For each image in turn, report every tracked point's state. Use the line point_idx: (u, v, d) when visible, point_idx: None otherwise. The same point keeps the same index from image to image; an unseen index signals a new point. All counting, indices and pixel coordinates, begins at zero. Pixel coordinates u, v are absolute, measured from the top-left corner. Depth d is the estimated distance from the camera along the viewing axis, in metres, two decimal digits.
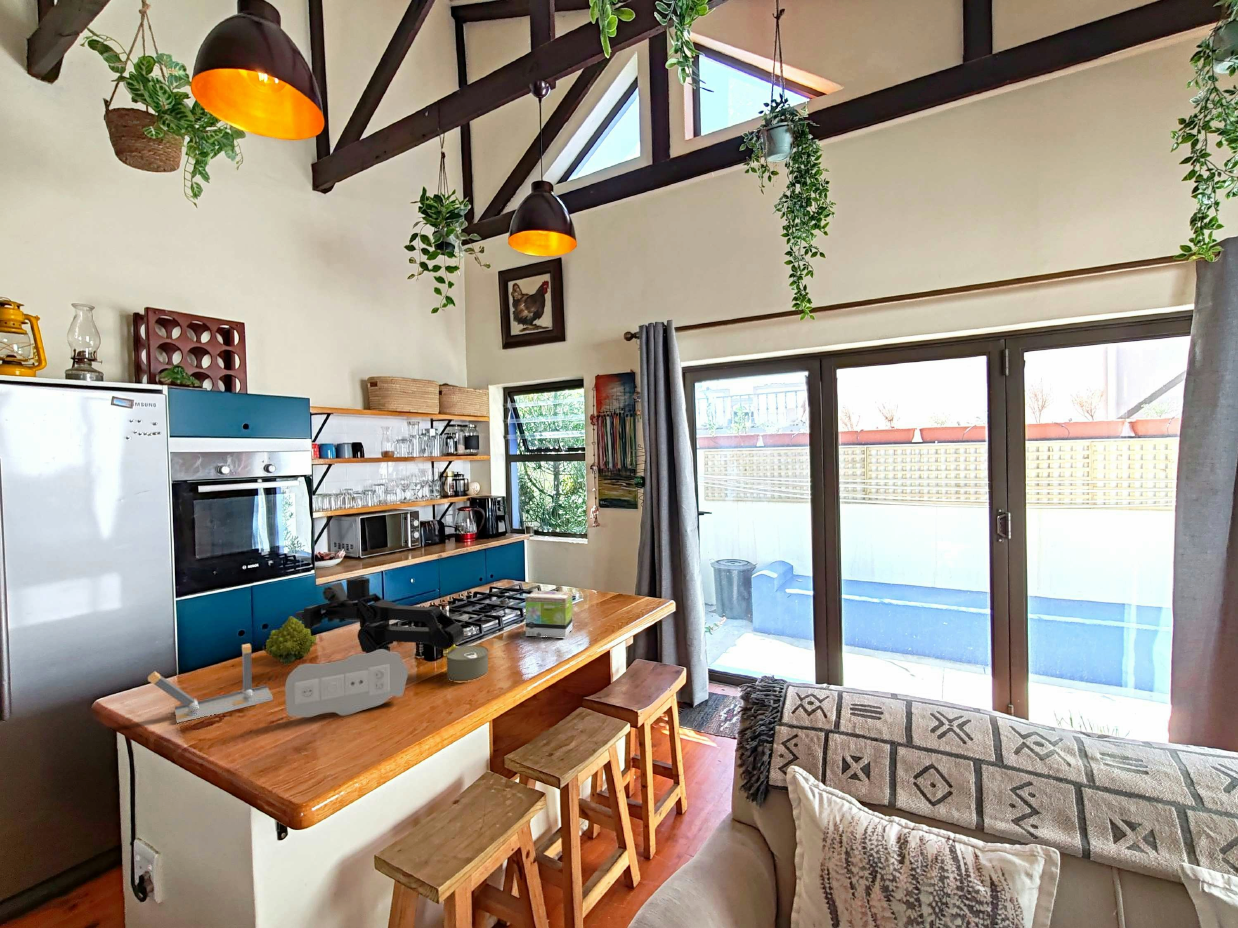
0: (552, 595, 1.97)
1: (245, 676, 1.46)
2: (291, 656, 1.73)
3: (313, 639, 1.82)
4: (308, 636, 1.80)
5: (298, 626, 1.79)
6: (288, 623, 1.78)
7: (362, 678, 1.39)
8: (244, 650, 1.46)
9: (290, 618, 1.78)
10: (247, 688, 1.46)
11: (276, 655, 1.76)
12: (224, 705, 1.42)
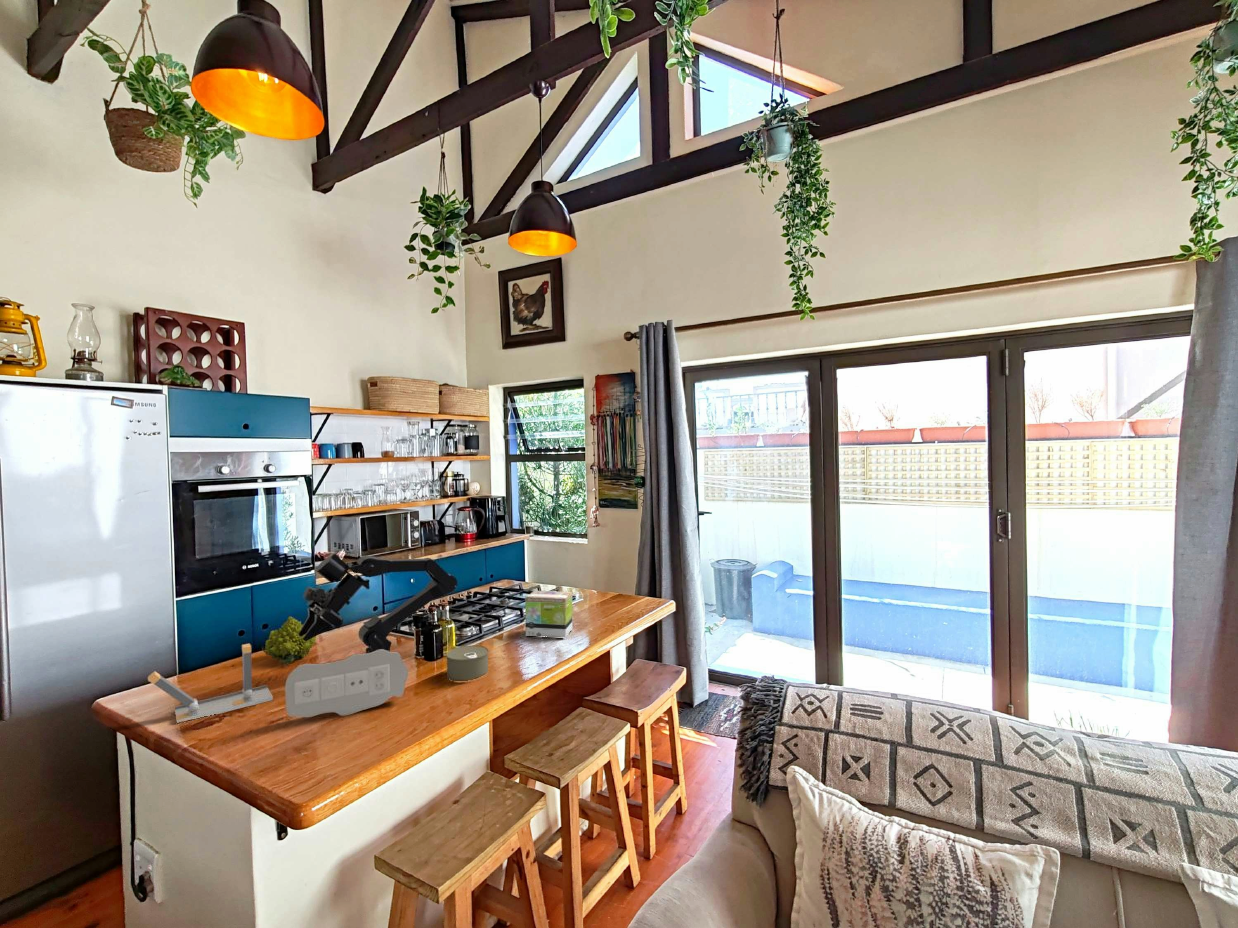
0: (552, 595, 1.97)
1: (245, 676, 1.46)
2: (291, 656, 1.73)
3: (312, 639, 1.82)
4: None
5: (297, 626, 1.78)
6: (287, 623, 1.78)
7: (362, 678, 1.39)
8: (244, 650, 1.46)
9: (289, 618, 1.78)
10: (247, 688, 1.46)
11: (275, 656, 1.76)
12: (224, 705, 1.42)
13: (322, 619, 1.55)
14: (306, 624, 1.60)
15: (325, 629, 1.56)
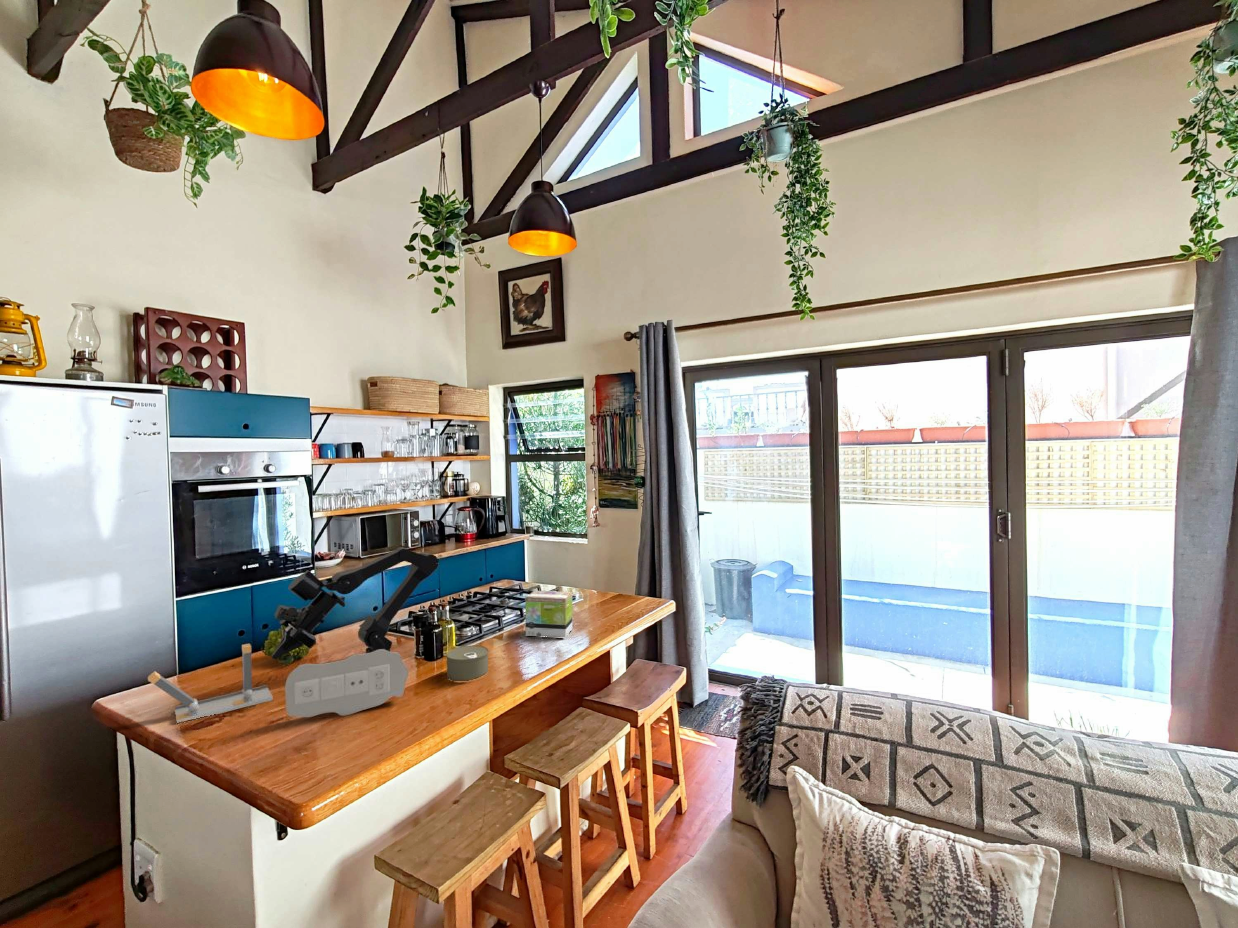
0: (552, 595, 1.97)
1: (245, 676, 1.46)
2: (290, 657, 1.72)
3: None
4: None
5: None
6: None
7: (362, 678, 1.39)
8: (244, 650, 1.46)
9: None
10: (247, 688, 1.46)
11: None
12: (224, 705, 1.42)
13: (292, 637, 1.52)
14: None
15: (295, 647, 1.53)
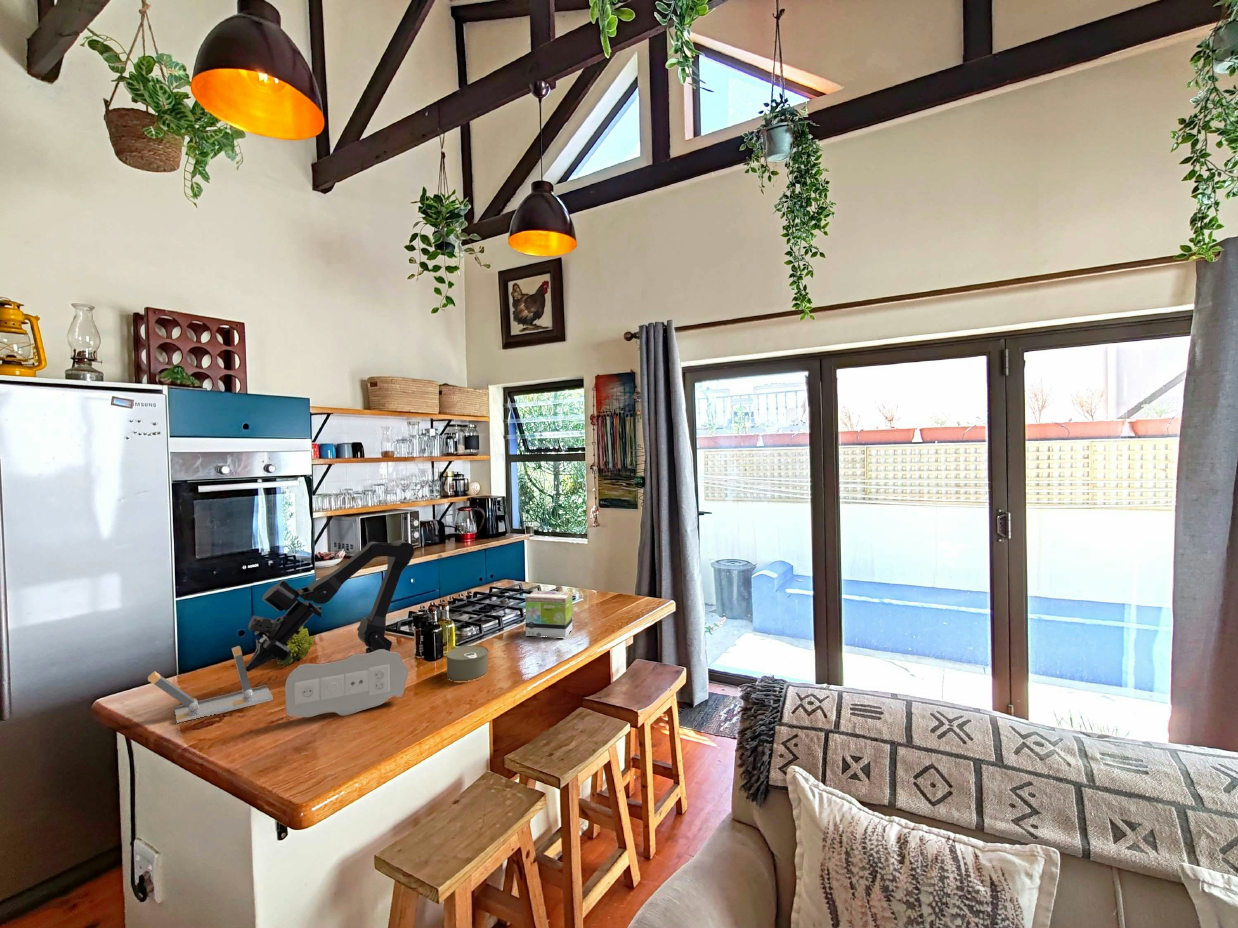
0: (552, 595, 1.97)
1: (241, 678, 1.46)
2: (289, 658, 1.72)
3: (311, 641, 1.80)
4: (306, 638, 1.78)
5: None
6: None
7: (362, 678, 1.39)
8: (234, 653, 1.45)
9: None
10: (246, 688, 1.46)
11: None
12: (224, 705, 1.42)
13: (265, 649, 1.48)
14: None
15: (269, 659, 1.49)
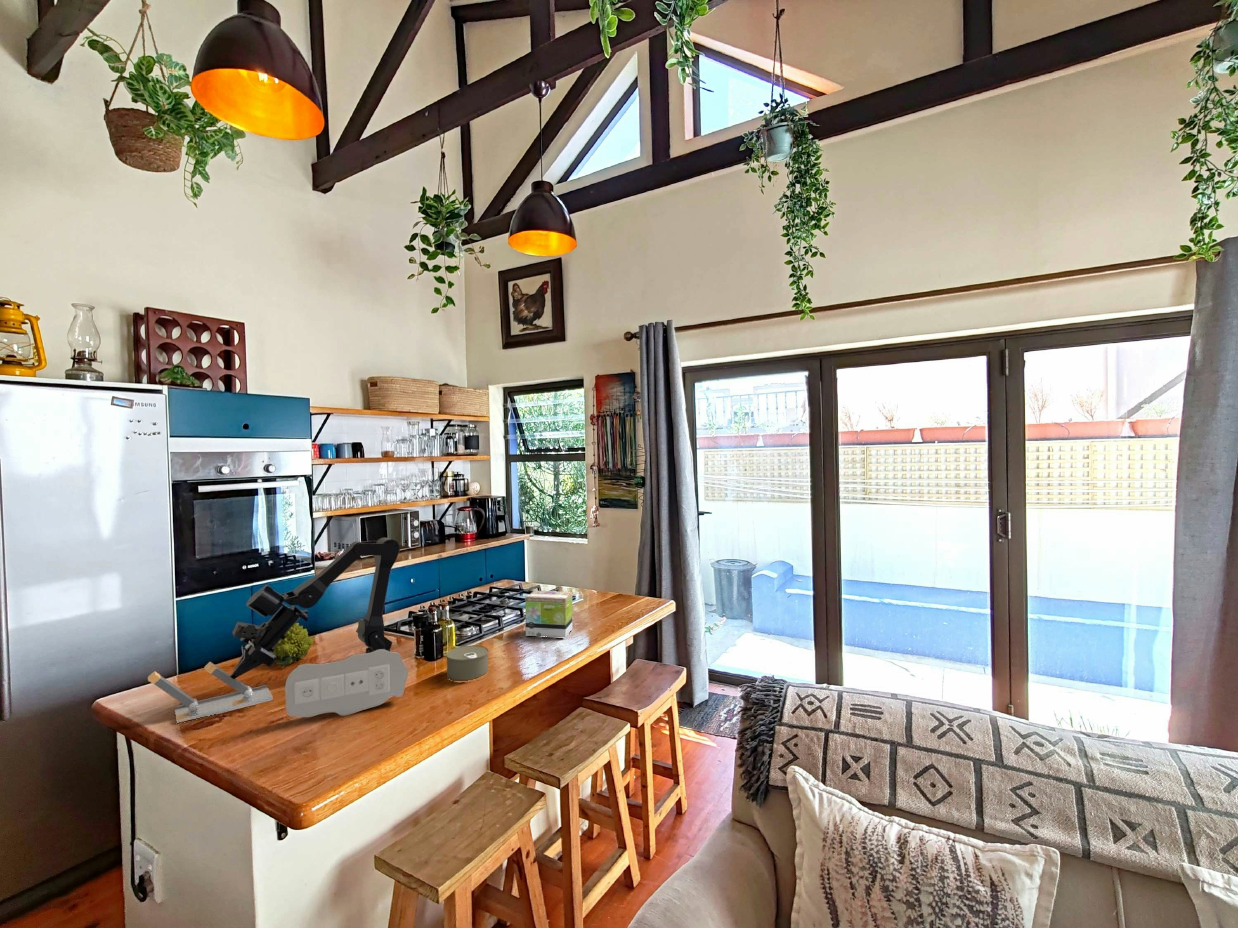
0: (552, 595, 1.97)
1: (231, 685, 1.44)
2: (289, 658, 1.71)
3: (311, 641, 1.80)
4: (306, 638, 1.78)
5: (295, 628, 1.76)
6: None
7: (362, 678, 1.39)
8: (208, 671, 1.41)
9: None
10: (243, 691, 1.46)
11: None
12: (224, 705, 1.42)
13: (251, 655, 1.45)
14: None
15: (255, 665, 1.47)
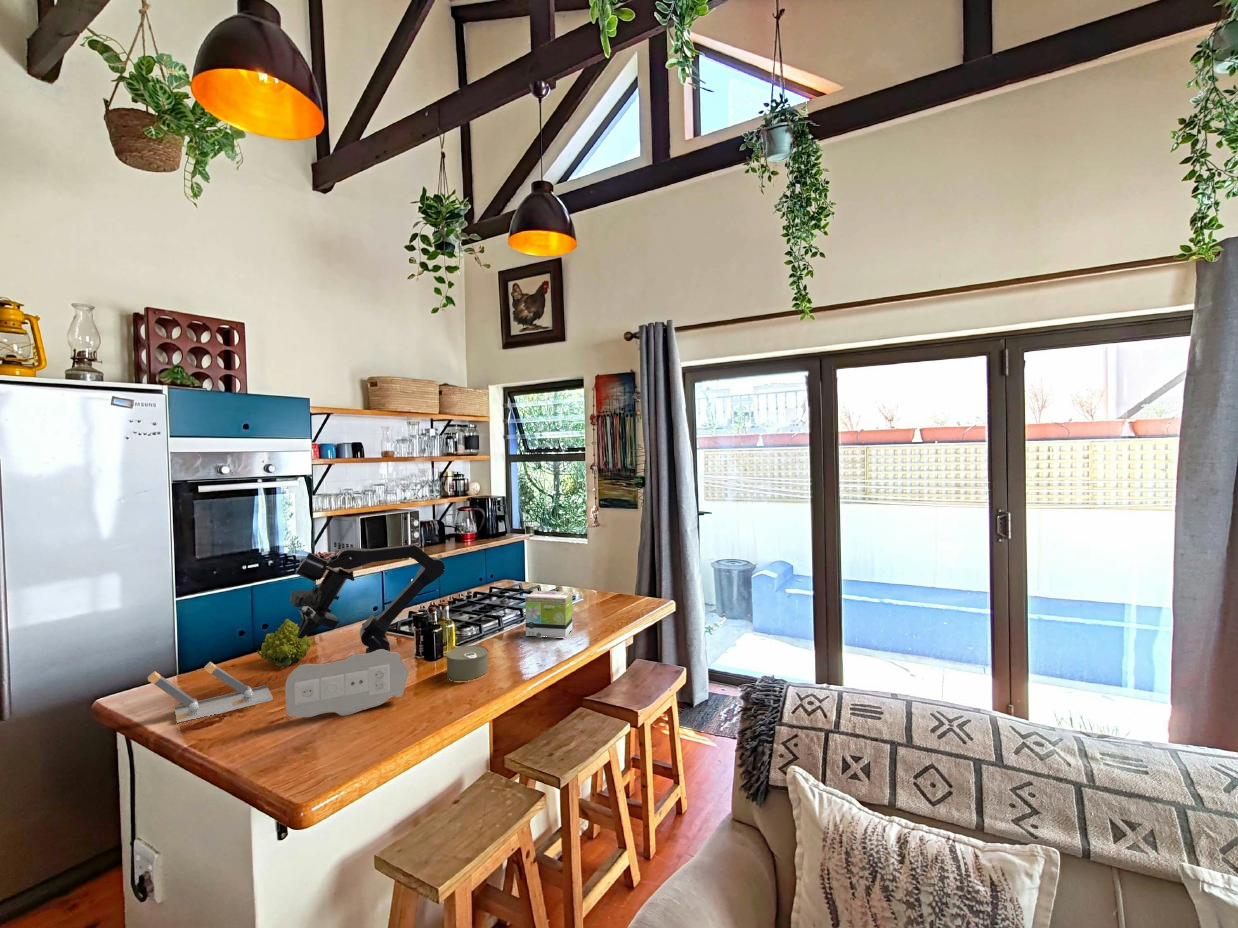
0: (552, 595, 1.97)
1: (231, 685, 1.44)
2: (288, 660, 1.70)
3: (309, 642, 1.79)
4: (305, 639, 1.77)
5: (294, 629, 1.75)
6: (284, 626, 1.75)
7: (362, 678, 1.39)
8: (208, 671, 1.41)
9: (286, 621, 1.75)
10: (243, 691, 1.46)
11: (272, 659, 1.73)
12: (224, 705, 1.42)
13: (314, 619, 1.58)
14: None
15: (318, 625, 1.61)
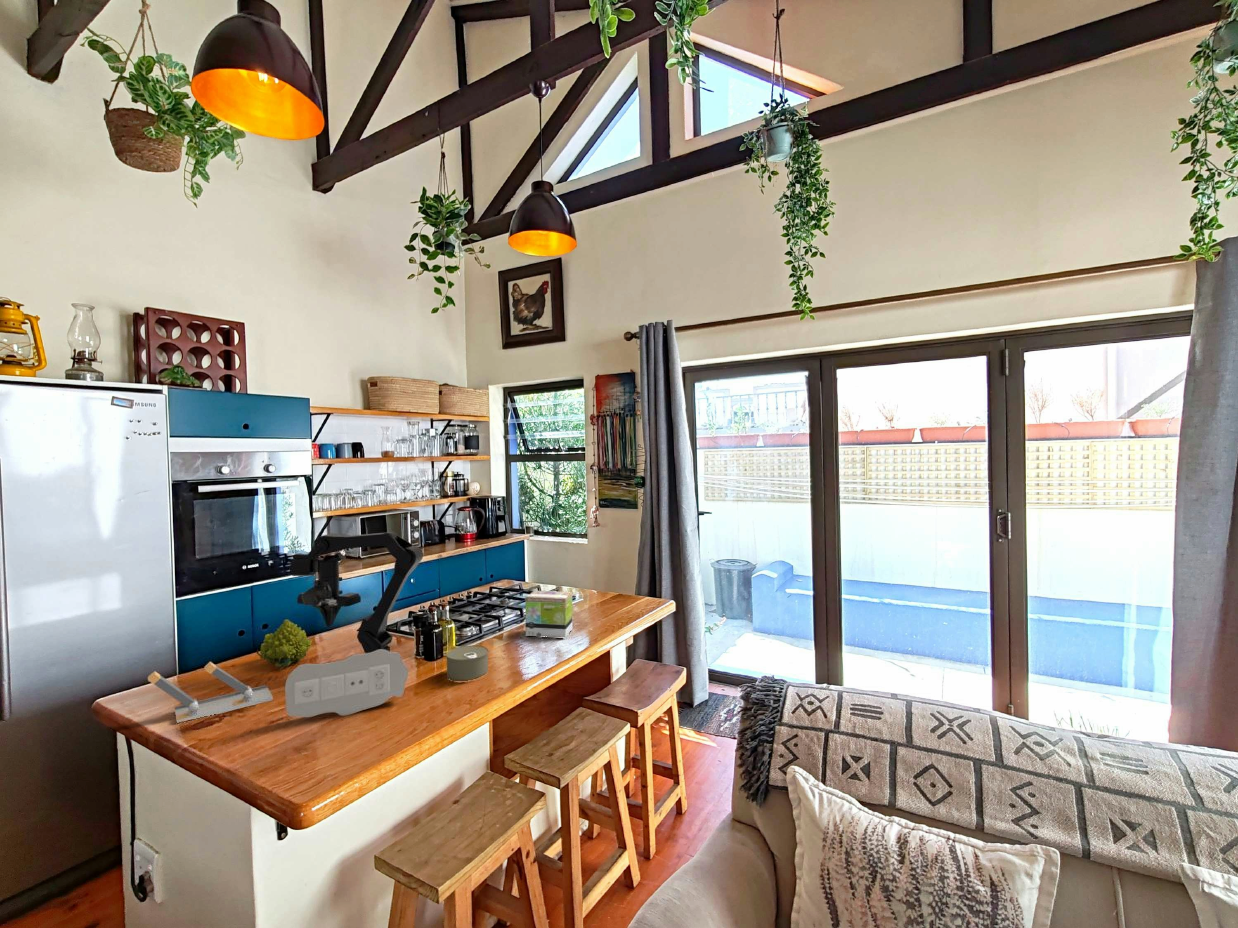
0: (552, 595, 1.97)
1: (231, 685, 1.44)
2: (287, 660, 1.70)
3: (309, 642, 1.78)
4: (304, 639, 1.76)
5: (294, 629, 1.75)
6: (283, 626, 1.74)
7: (362, 678, 1.39)
8: (208, 671, 1.41)
9: (285, 621, 1.75)
10: (243, 691, 1.46)
11: (271, 659, 1.72)
12: (224, 705, 1.42)
13: (336, 605, 1.67)
14: (326, 616, 1.69)
15: (339, 608, 1.71)
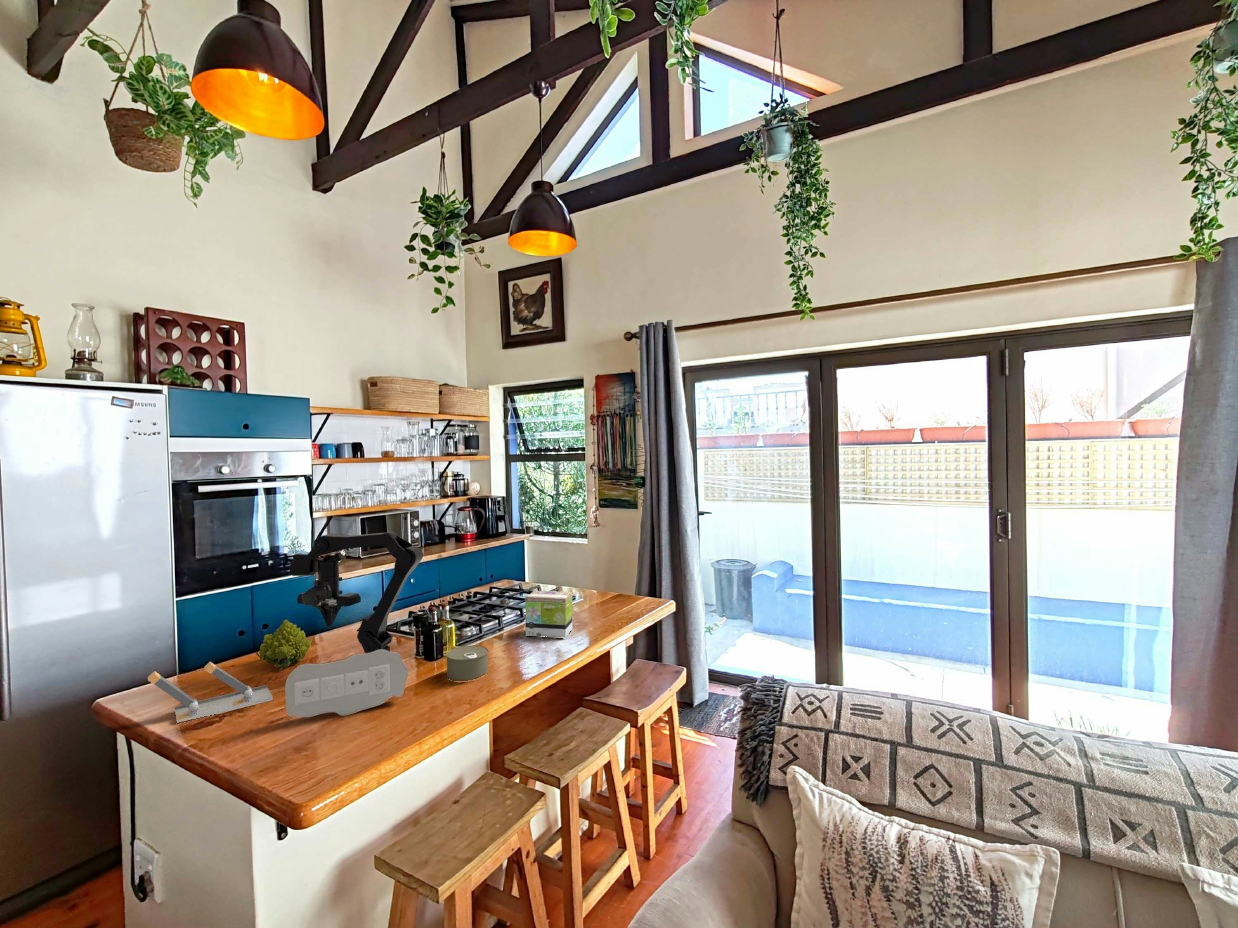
0: (552, 595, 1.97)
1: (231, 685, 1.44)
2: (287, 661, 1.69)
3: (308, 643, 1.78)
4: (304, 640, 1.76)
5: (293, 630, 1.74)
6: (283, 627, 1.74)
7: (362, 678, 1.39)
8: (208, 671, 1.41)
9: (285, 622, 1.74)
10: (243, 691, 1.46)
11: (270, 660, 1.72)
12: (224, 705, 1.42)
13: (336, 605, 1.67)
14: (326, 616, 1.69)
15: (339, 608, 1.71)
